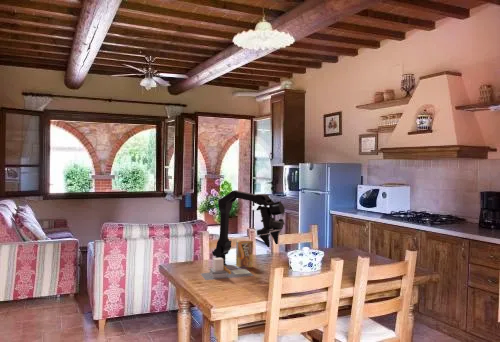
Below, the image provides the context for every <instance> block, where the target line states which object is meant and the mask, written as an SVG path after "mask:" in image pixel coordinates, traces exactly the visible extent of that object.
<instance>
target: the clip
mask: <svg viewBox="0 0 500 342" xmlns="http://www.w3.org/2000/svg"><path fill="white" fill-rule="evenodd" d="M223 269H224V270H225V271H226V272H227V273H228V274H231V269H229V268H227V266H226V265H225V266H223Z"/></svg>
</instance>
